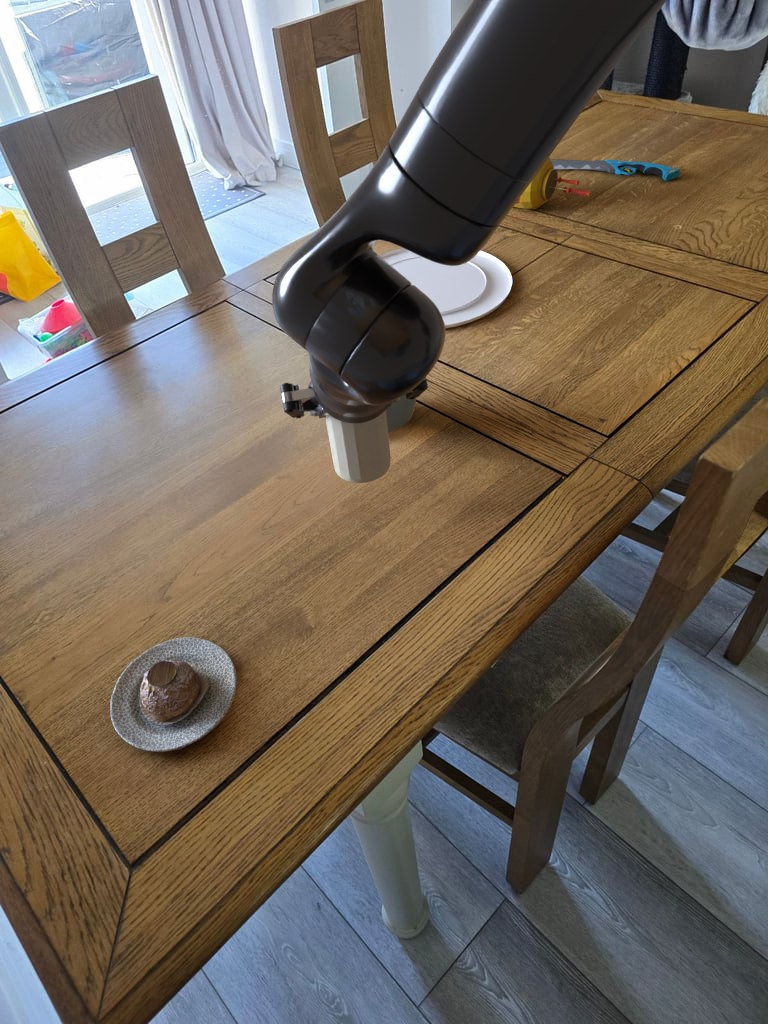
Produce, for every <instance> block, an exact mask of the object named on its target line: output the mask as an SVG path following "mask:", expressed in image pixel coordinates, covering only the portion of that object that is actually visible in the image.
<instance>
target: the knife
mask: <svg viewBox="0 0 768 1024" xmlns="http://www.w3.org/2000/svg"><path fill="white" fill-rule="evenodd" d="M550 160H551V162H552V164H553V167H554V169H555V170H588V171H589V170H590V171H602V172H607V173H611V174H612V173H614V174H615V175H625V176H632V175H635V174H636V171H639V172H642V173H643V174H648V175H656V176H658V177H661V178H662V180H664V181H666V182H669V181H672V180H674V179H676V178H679V176H680V173H681V171H680V169H678V168H675V167H671V166H667V165H664V164H658V163H654V162H645V161H629V160H628V161H627V160H620V159H614V158H613V159H612V158H610V159H604V160H602V159H597V160H579V159H560V158H550Z"/></svg>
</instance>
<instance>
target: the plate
mask: <svg viewBox="0 0 768 1024" xmlns="http://www.w3.org/2000/svg"><path fill="white" fill-rule="evenodd" d="M378 256H380V257H381V258H382V259H383V260H384V261H386V262H387V263H388V264H389V265H390V266H392V267H393V268H394V269H395V270H396V271H398V272H399V273H400V274H401V275H403V276H404V277H405V278H406V279H407V280H409V281H410V282H411V284H412V285H415V286H416V287H417V288H418V289H419V290H421V291H422V292H423V293H424V294H425V295H427V296H428V297H429V298H430V299H431V300H432V301H433V303H434V304H435V305H436V306H437V308H438V309H439V311H440V313H441V315H442V318H443V321H444V324H445V329H450V328H455V327H459V326H463V325H467V324H470V323H472V322H475V321H478V320H479V319H482V318H484V317H486V316H488V315H489V314H491V313H493V312H494V311H495V310H497V309H498V308H499V307H500V306H501V305H503V303H504V302H505V301H506V300H507V298H508V296H509V294H510V292H511V289H512V285H513V277H512V274H511V271H510V269H509V267H508V266H506V264H505V263H504V262H503V261H502V260H500V259H499V258H497V257H496V256H494V255H492V254H490V253H487V252H486V251H483V250H480V251H479V253H478V254H477V255H476V256H475V257H474V258H473V259H471V260H470V261H468V262H467V263H465V264H462V265H458V266H448V265H442V264H439V263H436V262H432V261H430V260H428V259H425V258H423V257H421V256H419V255H417V254H415V253H413V252H411V251H409V250H406V249H404V248H402V247H400V248H397V249H393V250H390V251H387V252H384V253H381V254H379V255H378Z"/></svg>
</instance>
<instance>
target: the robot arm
mask: <svg viewBox="0 0 768 1024" xmlns="http://www.w3.org/2000/svg"><path fill="white" fill-rule="evenodd" d="M667 1H668V0H473V1H472V2H471V4H470V5H469V7H468V8H467V9H466V11H465V12H464V14H463V15H462V17H460V20H459V21H458V23H457V24H456V26H455V27H454V29H453V30H452V32H451V34H450V35H449V37H448V38H447V40H446V41H445V43H444V44H443V47H442V48H441V50H440V51H439V53H438V55H437V57H436V58H435V59H434V61H433V63H432V65H431V67H430V68H429V70H428V72H427V73H426V75H425V76H424V78H423V80H422V81H421V83H420V85H419V87H418V89H417V91H416V93H415V95H414V96H413V98H412V100H411V102H410V103H409V106H408V107H407V108H406V110H405V112H404V114H403V116H402V117H401V119H400V121H399V123H398V124H397V126H396V128H395V130H394V132H393V134H392V135H391V137H390V139H389V140H388V142H387V144H386V146H385V147H384V149H383V151H382V153H381V155H380V157H378V159H377V161H376V162H375V164H374V165H373V167H372V168H371V169H370V171H369V172H368V174H367V175H366V177H365V178H364V179H363V180H362V181H361V183H360V184H359V185H358V187H357V188H356V189H355V190H354V191H353V193H352V194H351V195H350V196H349V197H348V199H346V201H345V202H343V204H342V205H341V206H340V207H339V208H338V210H337V211H336V212H334V214H333V215H332V216H331V217H330V218H329V219H328V220H327V221H326V222H325V223H323V225H322V226H320V228H318V229H317V230H316V231H315V232H314V233H313V234H312V235H311V236H310V237H309V238H307V239H306V240H305V242H303V243H302V244H301V245H300V246H298V248H297V249H295V251H294V252H293V253H292V254H290V256H289V257H288V258H287V260H286V261H285V262H284V264H282V266H281V268H280V269H279V271H278V273H277V275H276V278H275V279H274V283H273V288H272V295H271V296H272V297H271V305H272V311H273V316H274V319H275V322H276V323H277V325H278V327H279V328H280V329H281V330H282V331H283V332H284V333H285V335H287V336H288V337H289V338H290V339H292V341H294V342H295V343H296V344H298V346H299V347H301V348H302V349H304V350H305V351H306V352H307V353H308V359H309V362H308V367H309V368H308V372H309V378H310V382H309V383H308V387H307V388H302V389H300V385H299V384H293V383H289V382H284V383H282V384H280V385H279V390H280V396H281V402H282V407H283V412H284V413H285V414H287V415H288V416H290V417H291V418H292V419H302V418H303V417H305V413H306V412H307V413H308V412H309V413H310V414H309V415H310V417H318V418H319V419H326V418H325V415H330V416H332V417H333V418H335V419H337V420H340V421H342V422H346V423H364V422H367V421H370V420H373V419H375V418H376V417H378V416H379V415H381V414H382V413H383V412H384V411H385V410H386V409H387V408H388V407H391V405H392V404H394V403H397V402H399V401H400V397H402V396H404V395H406V399H410V400H413V399H415V398H416V399H417V398H419V397H420V396H421V395H422V394H423V393H424V392H425V391H426V390H428V389H429V385H428V380H427V376H428V375H429V374H430V373H431V372H432V370H433V369H434V368H435V366H436V364H437V362H438V361H439V359H440V357H441V355H442V352H443V349H444V346H445V341H446V335H447V333H446V332H447V331H446V328H445V324H444V321H443V318H442V315H441V313H440V311H439V309H438V308H437V306H436V305H435V304H434V303H433V301H432V300H431V299H430V298H429V297H428V296H427V295H425V294H424V293H423V292H422V291H421V290H419V289H418V288H417V287H416V286H415V285H412V284H411V282H410V281H409V280H407V279H406V278H405V277H404V276H403V275H401V274H400V273H399V272H398V271H396V270H395V269H394V268H393V267H392V266H390V265H389V264H388V263H387V262H386V261H384V260H383V259H382V258H381V257H380V256H379V255H378V253H377V252H376V251H374V249H373V248H374V245H375V243H376V242H377V241H381V242H382V241H383V242H385V243H386V242H387V243H390V244H393V245H395V246H398V247H400V248H404V249H406V250H409V251H411V252H413V253H415V254H417V255H419V256H421V257H423V258H425V259H428V260H430V261H432V262H436V263H439V264H442V265H448V266H458V265H462V264H465V263H467V262H468V261H470V260H471V259H473V258H474V257H475V256H476V255H477V254H478V253H479V251H482V250H483V248H484V247H485V246H486V245H487V243H488V242H489V241H490V239H492V236H493V235H494V233H495V232H496V231H497V230H498V228H499V227H500V225H501V224H502V222H503V221H504V220H505V219H506V217H507V215H508V214H510V212H511V210H513V206H514V205H515V203H516V202H517V201H518V199H519V198H520V196H521V195H522V194H523V192H524V191H525V190H526V188H527V187H528V186H529V184H530V183H531V181H532V180H533V178H534V177H535V176H536V175H537V173H538V172H539V170H540V169H541V168H542V166H543V165H544V163H545V162H546V161H547V159H548V158H550V157H551V155H552V154H553V152H554V151H555V149H556V148H557V147H558V145H559V144H560V142H562V140H563V139H564V137H565V135H566V134H567V133H568V132H569V131H570V129H571V127H572V126H573V125H574V123H575V122H576V120H577V119H578V118H579V117H580V115H581V114H582V112H583V111H584V109H585V108H586V107H587V105H588V104H589V103H590V102H591V100H592V99H593V97H594V96H595V94H596V93H597V92H598V91H599V89H601V87H602V85H603V84H604V82H605V81H606V80H607V78H609V76H610V74H612V72H613V70H614V69H615V68H616V66H617V65H618V64H619V63H620V61H621V60H622V59H623V58H624V56H625V55H626V54H627V52H628V51H629V50H630V48H631V47H632V46H633V44H634V43H635V42H636V41H637V39H638V38H639V37H640V36H641V35H642V33H643V31H644V30H645V29H646V28H647V26H648V25H649V24H650V22H651V21H652V20H653V19H654V18H655V17H656V15H657V14H658V12H660V10H661V9H662V8H663V6H664V5H666V3H667Z"/></svg>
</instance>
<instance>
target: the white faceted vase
mask: <svg viewBox="0 0 768 1024" xmlns="http://www.w3.org/2000/svg"><path fill="white" fill-rule="evenodd" d="M324 419H325V423H326V424H325V425H326V430H327V435H328V440H329V446H330V451H331V457H332V463H333V468H334V471H335V473H336V474H337V476H338V477H339V478H341V479H342V480H344V481H345V482H346V481H347V482H350V483H354V484H365V483H370V482H374V481H376V480H378V479H380V478H382V477H383V476H384V475H385V474H387V472H388V471H389V468H390V467H391V446H390V440H389V439H390V437H389V433H388V426H387V416H386V410H385V411H384V412H383V413H382V414H381V415H379V416H378V417H376V418H375V419H373V420H370V421H367V422H364V423H346V422H342V421H340V420H337V419H335V418H333V417H332V416H330V415H325V418H324Z"/></svg>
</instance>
